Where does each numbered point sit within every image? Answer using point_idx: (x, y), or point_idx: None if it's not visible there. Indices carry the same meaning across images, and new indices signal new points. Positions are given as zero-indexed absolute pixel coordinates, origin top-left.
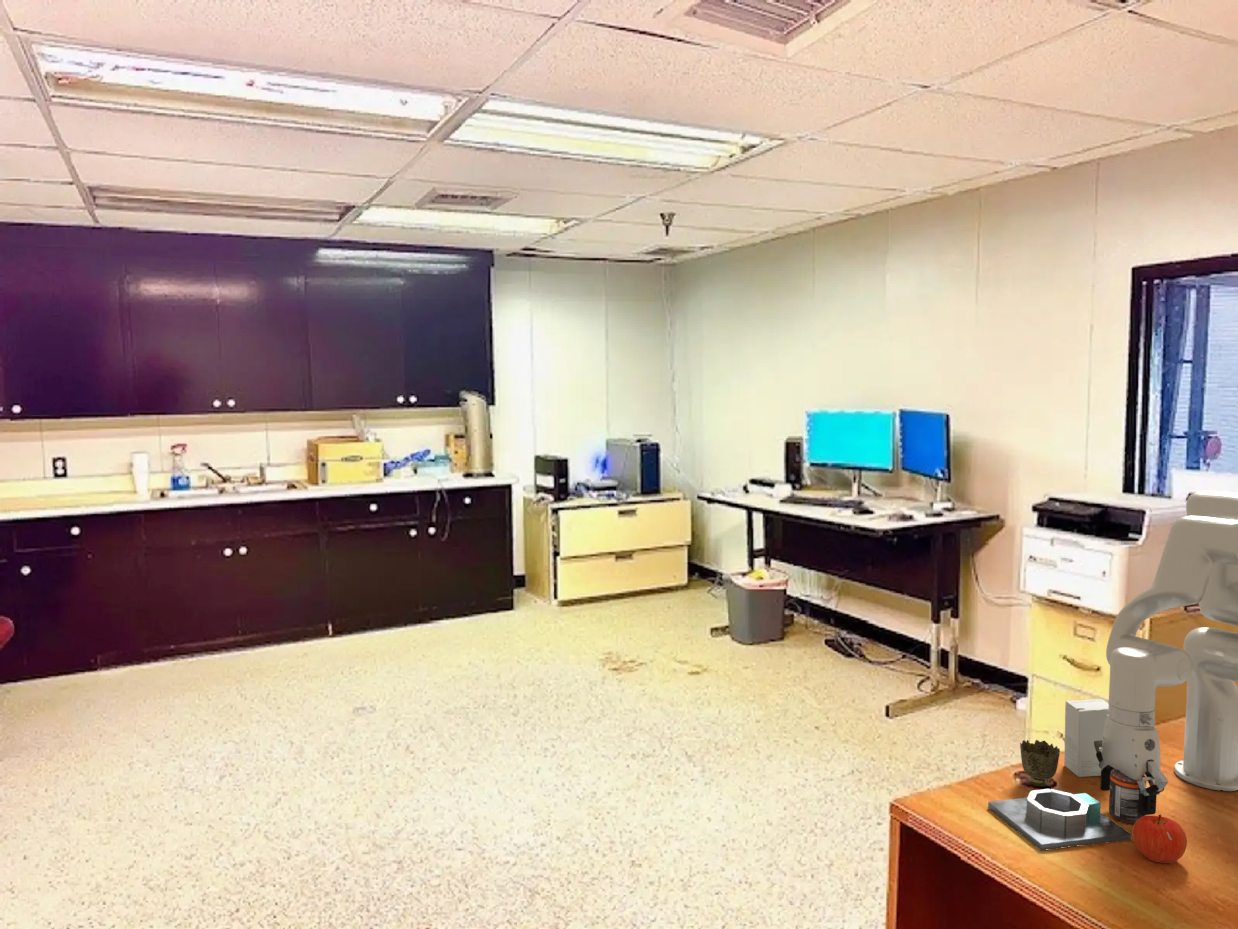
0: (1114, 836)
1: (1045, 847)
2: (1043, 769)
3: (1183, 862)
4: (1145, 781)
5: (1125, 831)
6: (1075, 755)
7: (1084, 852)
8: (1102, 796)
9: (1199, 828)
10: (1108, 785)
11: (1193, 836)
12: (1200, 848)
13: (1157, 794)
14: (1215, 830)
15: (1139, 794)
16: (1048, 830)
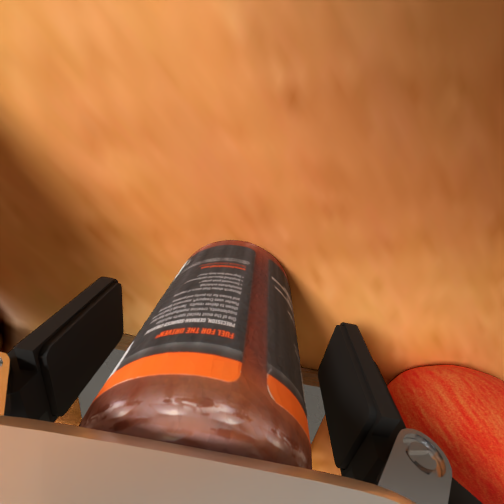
0: (318, 422)
1: None
2: None
3: (484, 356)
4: (305, 446)
5: (319, 393)
6: None
7: (313, 469)
8: (77, 224)
9: (425, 88)
10: (109, 334)
11: (439, 186)
12: (494, 245)
13: (428, 451)
14: (489, 19)
15: (343, 475)
16: None
